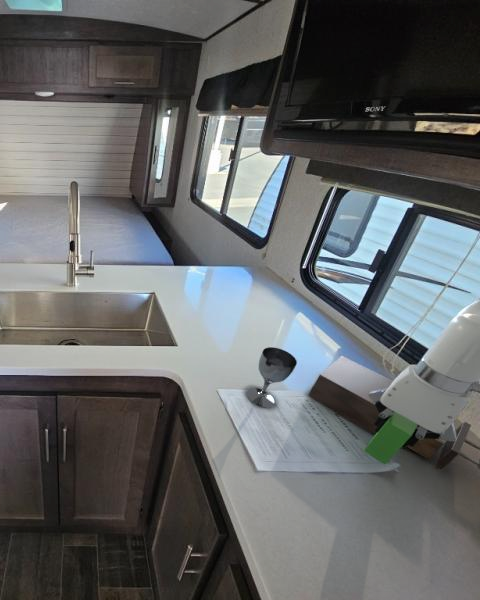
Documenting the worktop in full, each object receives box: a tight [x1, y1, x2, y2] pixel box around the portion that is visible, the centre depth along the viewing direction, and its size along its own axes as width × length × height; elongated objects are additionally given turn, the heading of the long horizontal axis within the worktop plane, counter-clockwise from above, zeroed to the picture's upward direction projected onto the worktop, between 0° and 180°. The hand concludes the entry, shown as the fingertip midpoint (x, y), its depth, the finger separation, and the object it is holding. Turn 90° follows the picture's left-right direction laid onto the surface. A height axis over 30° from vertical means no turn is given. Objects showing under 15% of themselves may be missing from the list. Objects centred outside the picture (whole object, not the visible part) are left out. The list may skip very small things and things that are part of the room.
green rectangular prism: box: [363, 412, 418, 466], centre depth 70 cm, size 4×7×10 cm, turn 125°
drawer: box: [390, 414, 480, 471], centre depth 78 cm, size 19×13×6 cm
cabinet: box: [307, 355, 394, 436], centre depth 88 cm, size 16×15×8 cm
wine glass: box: [246, 347, 298, 409], centre depth 87 cm, size 8×8×15 cm
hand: (391, 436), depth 70 cm, fingers closed on green rectangular prism, 4 cm apart
